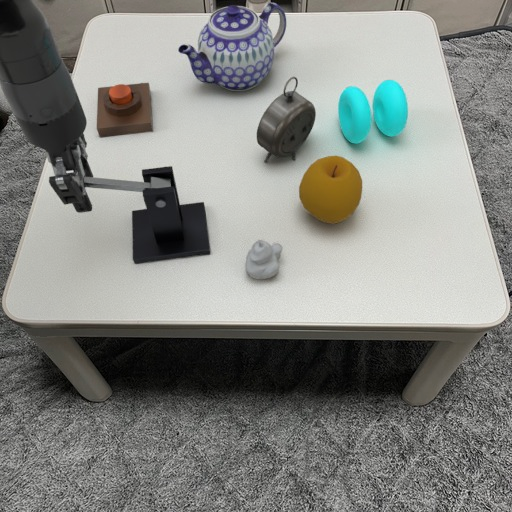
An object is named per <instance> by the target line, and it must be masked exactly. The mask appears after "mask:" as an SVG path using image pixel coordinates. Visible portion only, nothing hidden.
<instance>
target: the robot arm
mask: <svg viewBox="0 0 512 512" xmlns="http://www.w3.org/2000/svg"><path fill="white" fill-rule="evenodd" d="M73 81H74V80H73V78H72V76H71V73H70V72H69V69H68V67H67V66H66V64H65V61H64V60H63V57H62V55H61V52H60V50H59V48H58V44H57V43H56V39H55V37H54V33H53V31H52V28H51V26H50V24H49V22H48V20H47V18H46V16H45V15H44V13H43V12H42V11H41V9H40V8H39V7H38V5H37V4H36V3H35V1H33V0H0V88H1V91H2V94H3V95H4V98H5V100H6V102H7V104H8V106H9V107H10V110H11V111H12V114H13V116H14V117H15V119H16V122H17V123H18V125H19V127H20V130H21V132H22V133H23V135H24V137H25V139H26V140H27V141H28V142H29V143H30V144H31V145H32V146H34V147H37V148H39V149H42V150H44V151H45V155H46V158H47V161H48V163H49V164H51V168H52V170H53V174H54V175H51V176H49V177H48V183H49V185H50V187H51V188H52V189H53V191H54V192H55V195H57V197H58V198H59V199H60V201H61V202H62V204H63V205H69V204H72V206H73V208H74V210H75V212H76V213H79V214H82V213H89V212H92V211H93V204H92V201H91V199H90V196H89V195H88V192H87V189H86V187H84V183H83V178H84V175H85V173H84V169H83V166H85V168H86V177H94V174H93V171H92V168H91V166H90V164H89V162H88V157H89V155H88V153H87V151H86V148H87V147H88V141H86V137H85V134H84V133H85V131H86V128H87V117H86V113H85V111H84V109H83V106H82V103H81V100H80V98H79V95H78V92H77V90H76V86H75V84H74V82H73ZM82 165H83V166H82ZM76 168H77V171H78V172H75V169H76ZM72 171H73V172H72ZM75 181H76V182H77V183H78V186H77V184H76V182H75Z"/></svg>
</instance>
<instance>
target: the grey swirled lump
mask: <svg viewBox="0 0 512 512" xmlns="http://www.w3.org/2000/svg"><path fill="white" fill-rule="evenodd" d="M282 252H283V246H282V244H281V243H279V242H273V243H272V244H270V243H269V242H268V241H266V240H264V239H257V240H256V241H255V242H254V243H253V244H252V245H251V248H250V249H249V250H248V252H247V254H246V260H245V272H246V273H247V274H248V276H250V277H251V278H252V279H257V280H265V279H270V278H272V277H274V276H275V275H276V274H278V273H279V271H280V263H279V259H280V258H281V254H282Z"/></svg>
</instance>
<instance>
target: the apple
mask: <svg viewBox="0 0 512 512" xmlns="http://www.w3.org/2000/svg"><path fill="white" fill-rule="evenodd" d="M362 193H363V178H362V176H361V174H360V170H359V169H358V168H357V167H356V166H355V165H354V163H352V162H351V161H350V160H348V159H347V158H345V157H343V156H339V155H328V156H325V157H322V158H319V159H316V161H314V162H313V163H311V164H310V165H309V167H308V168H307V169H306V171H305V172H304V174H303V176H302V178H301V180H300V183H299V186H298V195H299V200H300V203H301V205H302V206H303V208H304V209H305V210H306V212H307V213H309V214H310V215H311V216H313V217H314V218H315V219H317V220H318V221H321V222H322V223H326V224H338V223H341V222H343V221H345V220H346V219H348V218H349V217H351V216H352V215H353V214H354V212H355V211H356V210H357V208H358V207H359V205H360V203H361V200H362Z"/></svg>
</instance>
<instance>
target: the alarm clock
mask: <svg viewBox="0 0 512 512" xmlns="http://www.w3.org/2000/svg"><path fill="white" fill-rule="evenodd" d="M292 80H295V86H294V89H292V90H289V91H286V90H287V87H288V85H289V84H290V82H291V81H292ZM298 84H299V81H298V77H297V76H291V77H290V78H289V79H288V80H287V81H286V83H285V84H284V88H283V93H282V94H280V95H279V96H277V97H276V98H275V99H273V101H272V102H271V103H269V105H268V106H267V108H265V110H264V112H263V114H262V116H261V118H260V120H259V123H258V126H257V129H256V142H257V144H258V146H260V148H262V149H264V150H265V151H267V154H266V157H265V159H264V161H263V162H264V164H268V162H269V160H270V158H271V157H272V156H273V157H274V158H277V159H283V158H287V157H289V156H291V157H292V160H293V161H296V160H297V157H296V151H297V150H298V149H300V147H302V146H303V145H304V143H305V142H306V140H307V139H308V138H309V135H310V134H311V133H312V130H313V127H314V125H315V121H316V116H317V113H316V108H315V106H314V103H313V102H312V101H310V100H309V99H307V98H306V97H304V96H302V95H301V94H300V93H298V92H297V91H296V90H297V88H298Z"/></svg>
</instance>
